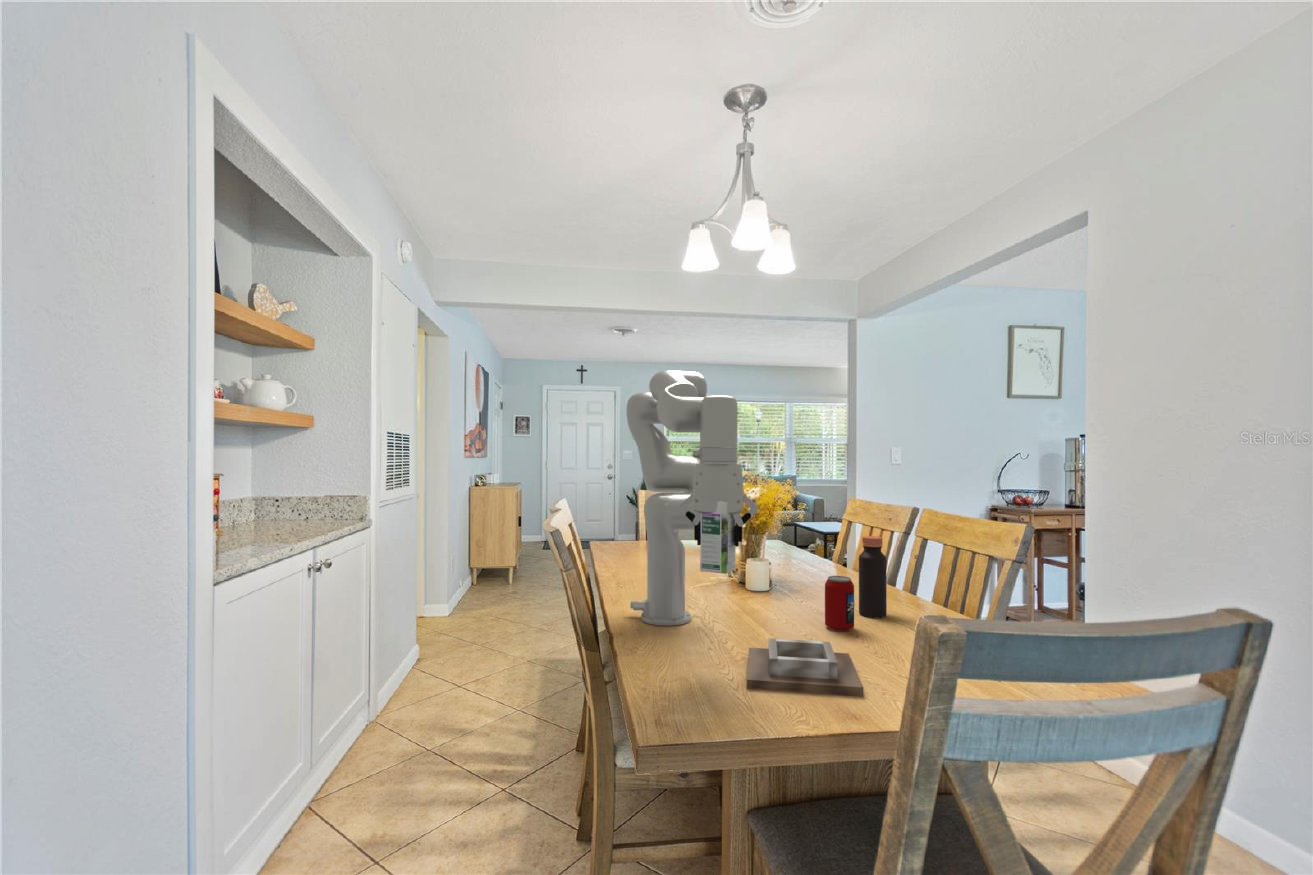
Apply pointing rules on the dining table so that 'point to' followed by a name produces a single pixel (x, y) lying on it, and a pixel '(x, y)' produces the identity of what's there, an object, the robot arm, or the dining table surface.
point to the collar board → (802, 668)
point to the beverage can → (839, 603)
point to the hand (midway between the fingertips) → (718, 544)
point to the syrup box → (718, 540)
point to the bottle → (872, 578)
